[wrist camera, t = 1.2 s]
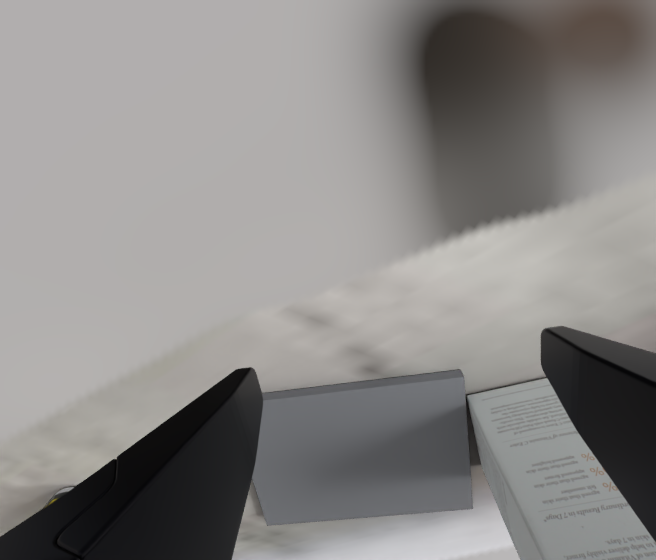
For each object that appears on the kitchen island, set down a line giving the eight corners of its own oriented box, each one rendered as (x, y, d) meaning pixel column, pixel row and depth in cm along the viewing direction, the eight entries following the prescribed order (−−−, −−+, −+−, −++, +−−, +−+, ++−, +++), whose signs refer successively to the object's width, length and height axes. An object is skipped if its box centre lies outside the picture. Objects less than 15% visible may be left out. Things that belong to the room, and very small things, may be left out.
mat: (460, 369, 24) (464, 377, 23) (469, 498, 27) (472, 508, 27) (232, 397, 25) (228, 404, 25) (269, 515, 29) (267, 525, 28)
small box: (480, 466, 26) (595, 748, 14) (463, 393, 24) (580, 646, 12) (603, 443, 25) (845, 729, 13) (596, 364, 23) (875, 613, 11)
